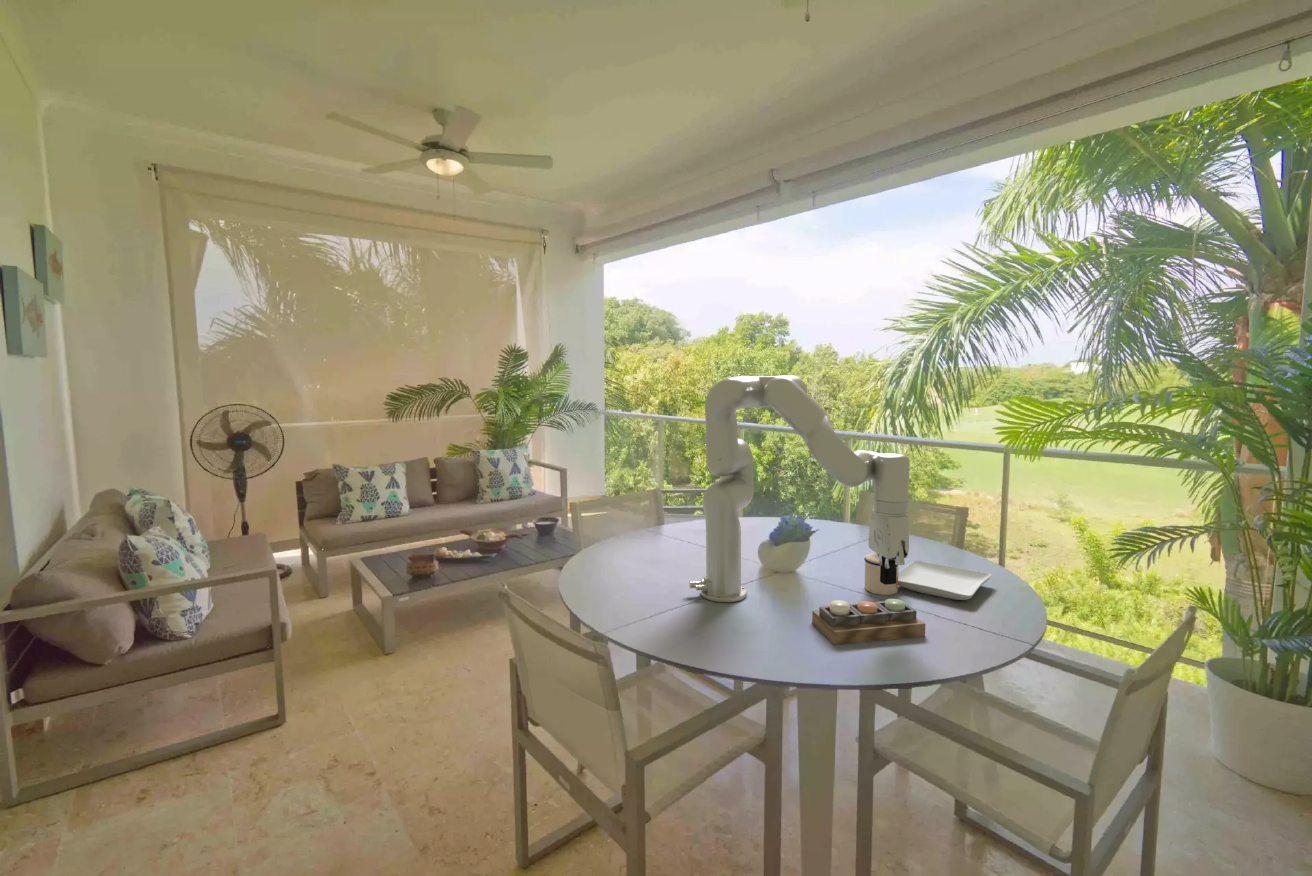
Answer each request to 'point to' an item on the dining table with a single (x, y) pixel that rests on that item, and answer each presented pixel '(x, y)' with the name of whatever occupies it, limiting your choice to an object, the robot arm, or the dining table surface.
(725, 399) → the robot arm
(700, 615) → the dining table surface
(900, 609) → the sage button
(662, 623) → the dining table surface
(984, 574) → the salad plate
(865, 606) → the terracotta button
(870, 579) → the teacup with lid
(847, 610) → the cream button
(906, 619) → the button console
